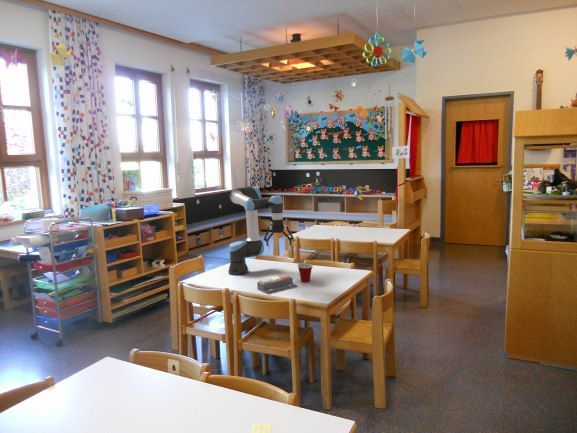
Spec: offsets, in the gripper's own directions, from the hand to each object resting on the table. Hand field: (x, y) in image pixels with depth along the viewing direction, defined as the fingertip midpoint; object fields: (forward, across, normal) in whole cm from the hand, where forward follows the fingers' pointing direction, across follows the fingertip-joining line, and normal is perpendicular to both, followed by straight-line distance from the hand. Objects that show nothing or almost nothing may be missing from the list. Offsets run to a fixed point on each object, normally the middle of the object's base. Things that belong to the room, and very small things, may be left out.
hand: (279, 250), depth 294 cm
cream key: (+21, -4, -4) cm, 22 cm away
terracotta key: (+21, +2, +1) cm, 21 cm away
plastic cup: (+25, +17, +7) cm, 31 cm away
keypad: (+25, -2, -5) cm, 25 cm away
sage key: (+21, -10, -8) cm, 25 cm away
